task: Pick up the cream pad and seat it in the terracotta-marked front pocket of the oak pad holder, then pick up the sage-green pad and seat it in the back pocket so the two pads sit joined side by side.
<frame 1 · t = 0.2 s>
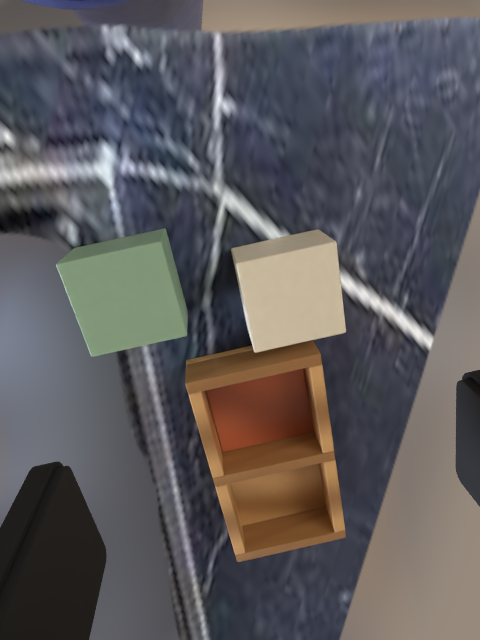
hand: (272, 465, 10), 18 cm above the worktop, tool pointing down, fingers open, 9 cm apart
pad b: (133, 281, 26), on the worktop
pad a: (281, 280, 27), on the worktop
holder: (267, 440, 32), on the worktop
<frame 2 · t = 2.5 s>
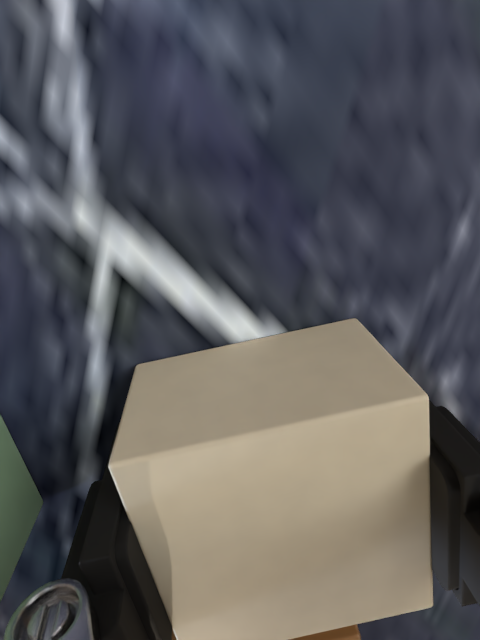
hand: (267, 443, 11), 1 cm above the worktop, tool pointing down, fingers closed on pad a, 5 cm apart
pad a: (264, 430, 11), on the worktop, touching gripper
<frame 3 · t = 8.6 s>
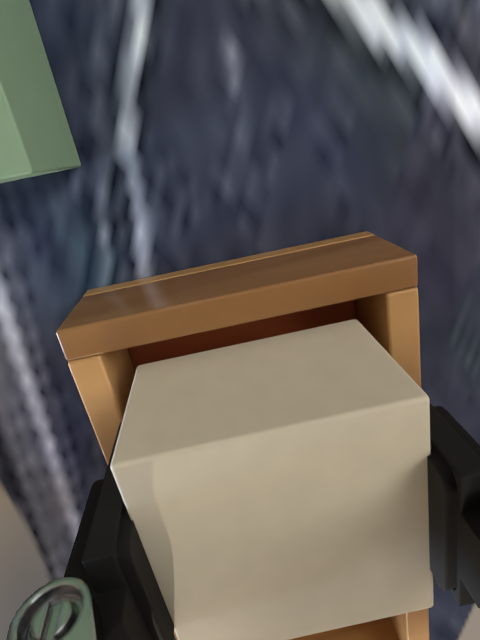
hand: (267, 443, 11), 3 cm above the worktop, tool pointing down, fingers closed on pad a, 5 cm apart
pad a: (265, 431, 11), point 3 cm above the worktop, touching gripper
holder: (271, 470, 16), on the worktop
when the fingers open (4 cm above the worktop, at t = 11.1 s): pad a drops 2 cm, resting on holder.
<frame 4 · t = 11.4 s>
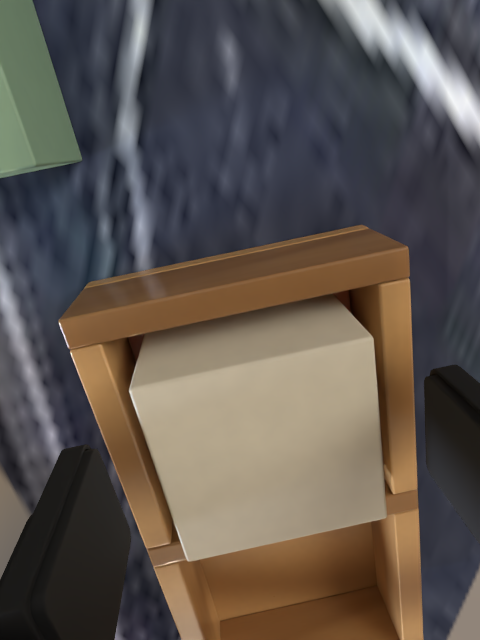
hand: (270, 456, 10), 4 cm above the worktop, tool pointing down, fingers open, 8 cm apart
pad a: (253, 384, 14), point 1 cm above the worktop, touching holder
holder: (268, 460, 16), on the worktop
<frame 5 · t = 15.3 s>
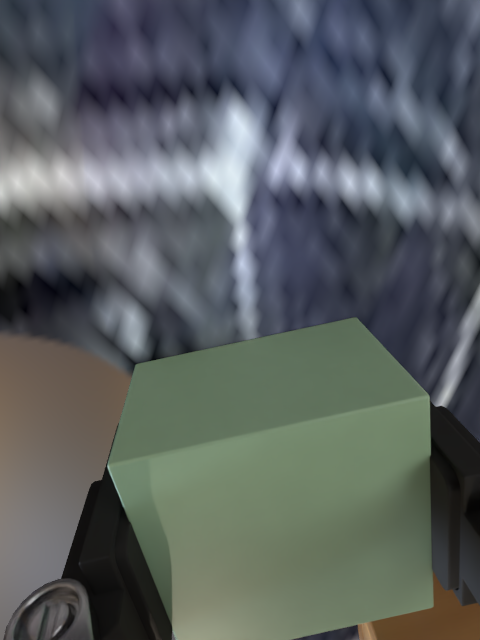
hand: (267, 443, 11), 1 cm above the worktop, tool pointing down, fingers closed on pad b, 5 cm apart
pad b: (264, 430, 11), on the worktop, touching gripper
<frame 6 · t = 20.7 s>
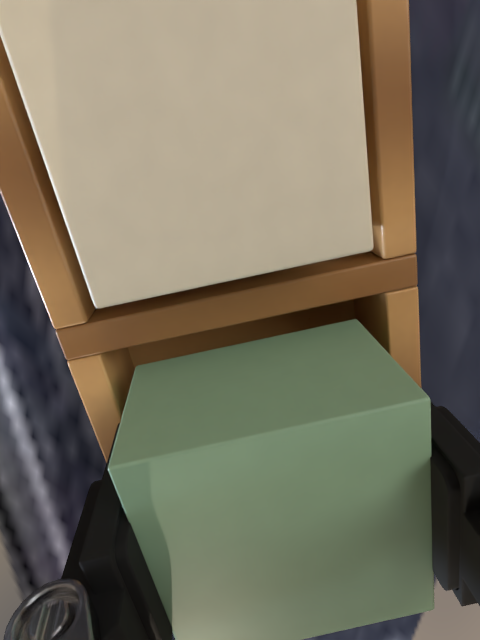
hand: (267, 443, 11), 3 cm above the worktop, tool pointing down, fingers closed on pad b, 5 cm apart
pad b: (265, 432, 11), point 3 cm above the worktop, touching gripper
pad a: (201, 133, 10), point 1 cm above the worktop, touching holder
holder: (230, 272, 13), on the worktop
when the fingers open (4 cm above the worktop, at t = 24.4 s): pad b drops 3 cm, resting on holder.
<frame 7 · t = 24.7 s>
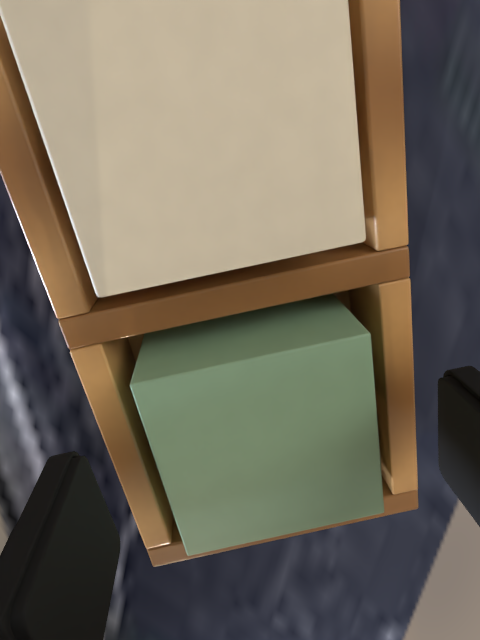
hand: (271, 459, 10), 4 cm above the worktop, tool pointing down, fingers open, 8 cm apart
pad b: (252, 381, 14), point 1 cm above the worktop, touching holder
pad a: (200, 128, 11), point 1 cm above the worktop, touching holder
holder: (228, 265, 13), on the worktop
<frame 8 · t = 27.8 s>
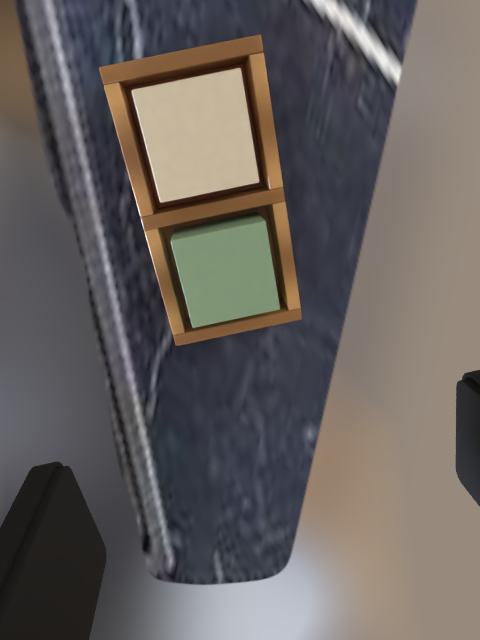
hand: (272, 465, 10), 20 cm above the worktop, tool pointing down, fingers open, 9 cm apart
pad b: (224, 261, 28), point 1 cm above the worktop, touching holder
pad a: (198, 139, 25), point 1 cm above the worktop, touching holder
holder: (211, 202, 27), on the worktop
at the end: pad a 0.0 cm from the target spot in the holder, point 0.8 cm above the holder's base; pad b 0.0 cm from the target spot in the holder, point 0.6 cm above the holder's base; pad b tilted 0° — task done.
